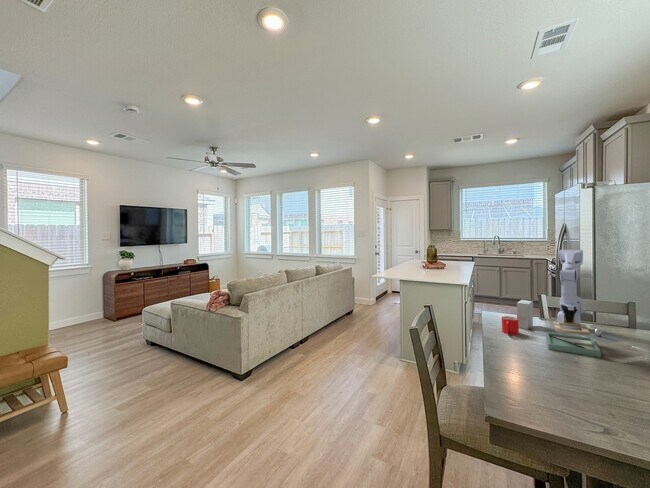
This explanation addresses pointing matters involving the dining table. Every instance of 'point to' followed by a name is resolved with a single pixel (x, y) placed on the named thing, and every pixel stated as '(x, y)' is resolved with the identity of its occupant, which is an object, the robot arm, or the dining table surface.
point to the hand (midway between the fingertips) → (569, 321)
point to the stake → (598, 330)
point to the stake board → (605, 337)
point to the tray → (571, 345)
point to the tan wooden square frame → (583, 327)
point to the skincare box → (525, 313)
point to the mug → (510, 325)
